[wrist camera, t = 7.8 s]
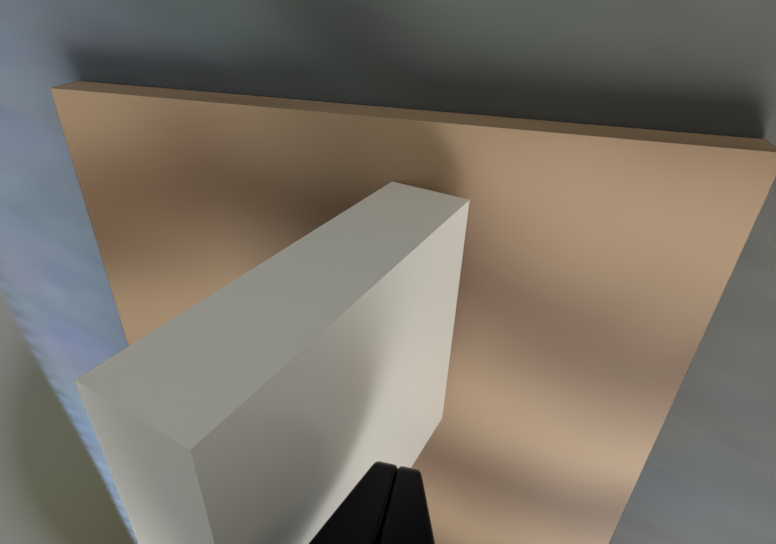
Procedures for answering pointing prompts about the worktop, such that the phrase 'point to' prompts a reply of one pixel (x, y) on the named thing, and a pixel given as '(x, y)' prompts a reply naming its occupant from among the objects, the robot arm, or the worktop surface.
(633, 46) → the worktop surface
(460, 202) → the tile
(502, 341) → the board
